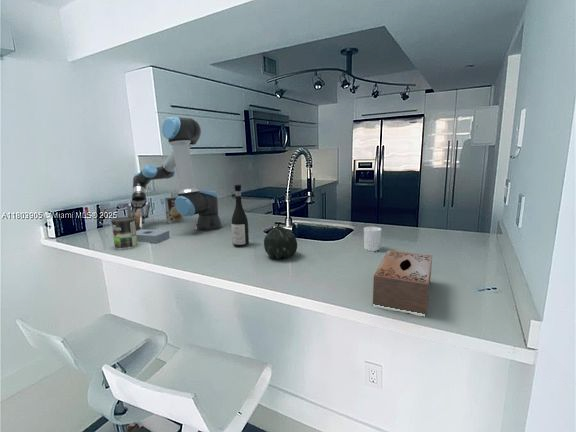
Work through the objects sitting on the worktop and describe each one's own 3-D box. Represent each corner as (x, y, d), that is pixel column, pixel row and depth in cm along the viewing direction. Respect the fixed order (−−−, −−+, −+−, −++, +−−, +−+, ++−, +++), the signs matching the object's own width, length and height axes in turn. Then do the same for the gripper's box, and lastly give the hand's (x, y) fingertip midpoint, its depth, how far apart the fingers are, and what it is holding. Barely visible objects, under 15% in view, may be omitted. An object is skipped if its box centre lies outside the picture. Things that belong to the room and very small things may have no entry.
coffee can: (123, 250, 148) (119, 222, 145) (110, 248, 152) (106, 220, 150) (142, 244, 157) (139, 217, 154) (129, 242, 161) (125, 216, 158)
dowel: (143, 231, 181) (141, 211, 179) (139, 233, 178) (137, 212, 176) (138, 231, 182) (136, 211, 179) (134, 233, 179) (132, 212, 176)
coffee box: (169, 223, 203) (167, 199, 200) (166, 221, 208) (164, 198, 205) (183, 221, 209) (181, 197, 206) (180, 219, 214) (177, 196, 211)
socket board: (169, 237, 169) (169, 230, 168) (156, 243, 159) (156, 236, 158) (141, 236, 173) (140, 229, 172) (127, 241, 163) (126, 234, 162)
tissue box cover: (425, 318, 85) (428, 284, 83) (372, 307, 91) (373, 275, 89) (430, 282, 107) (432, 255, 105) (387, 276, 114) (388, 250, 112)
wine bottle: (244, 248, 148) (241, 186, 142) (229, 246, 151) (226, 185, 145) (251, 243, 156) (249, 184, 150) (237, 242, 158) (234, 183, 152)
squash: (295, 237, 145) (274, 216, 139) (308, 247, 132) (286, 224, 126) (274, 259, 144) (252, 239, 138) (285, 271, 130) (262, 249, 124)
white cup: (365, 246, 148) (366, 225, 146) (382, 248, 144) (383, 227, 142) (360, 250, 142) (361, 229, 140) (377, 253, 138) (378, 231, 136)
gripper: (154, 198, 193) (153, 230, 181) (125, 199, 189) (123, 232, 176) (152, 190, 187) (151, 223, 175) (122, 192, 183) (119, 225, 170)
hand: (137, 228), depth 176 cm, fingers closed on dowel, 3 cm apart
